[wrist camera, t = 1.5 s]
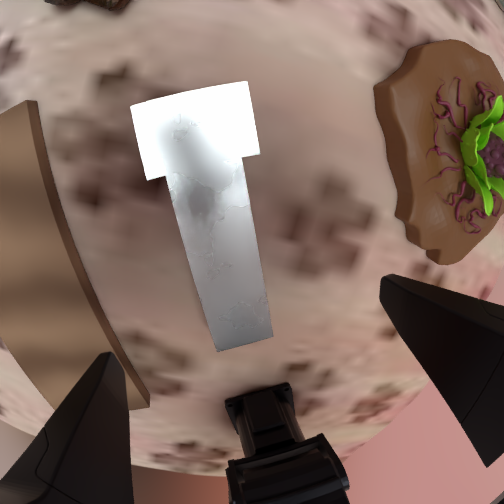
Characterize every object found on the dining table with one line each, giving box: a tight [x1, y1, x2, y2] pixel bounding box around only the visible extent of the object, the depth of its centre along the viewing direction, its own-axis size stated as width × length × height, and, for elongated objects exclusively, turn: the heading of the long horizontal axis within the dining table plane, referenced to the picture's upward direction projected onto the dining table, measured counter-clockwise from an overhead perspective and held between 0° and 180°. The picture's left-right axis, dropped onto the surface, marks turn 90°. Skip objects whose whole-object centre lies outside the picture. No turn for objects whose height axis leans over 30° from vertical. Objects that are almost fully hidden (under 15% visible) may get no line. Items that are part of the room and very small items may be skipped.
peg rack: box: [0, 100, 150, 410], centre depth 15 cm, size 25×10×6 cm, turn 10°
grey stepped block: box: [130, 81, 274, 352], centre depth 18 cm, size 16×6×3 cm, turn 10°
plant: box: [373, 39, 504, 265], centre depth 16 cm, size 20×20×11 cm
